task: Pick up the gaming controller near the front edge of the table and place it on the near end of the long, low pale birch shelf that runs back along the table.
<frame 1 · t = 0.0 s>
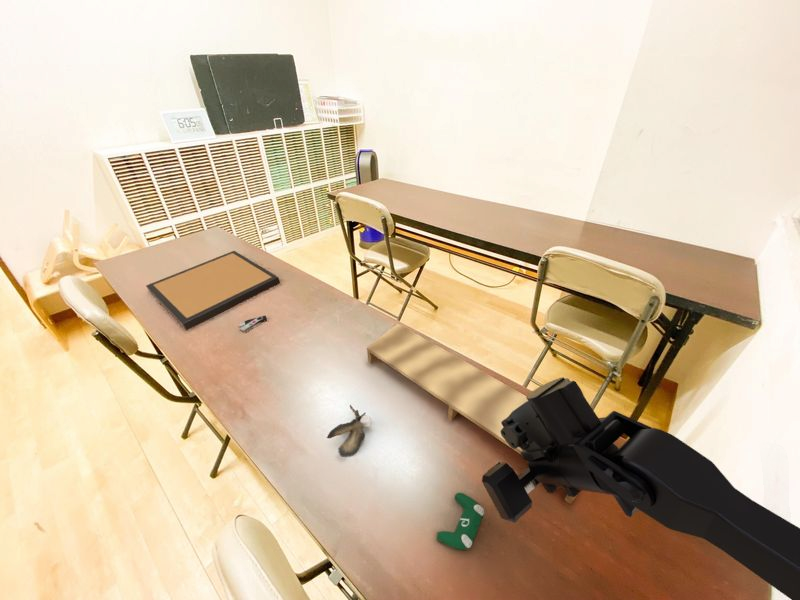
hand: (509, 460, 54), 14 cm above the table, tool tilted 35°, fingers open, 9 cm apart
cork board: (215, 287, 126), on the table
shelf: (464, 401, 81), on the table
usb flash drive: (253, 325, 107), on the table
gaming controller: (460, 525, 60), on the table
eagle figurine: (352, 437, 74), on the table
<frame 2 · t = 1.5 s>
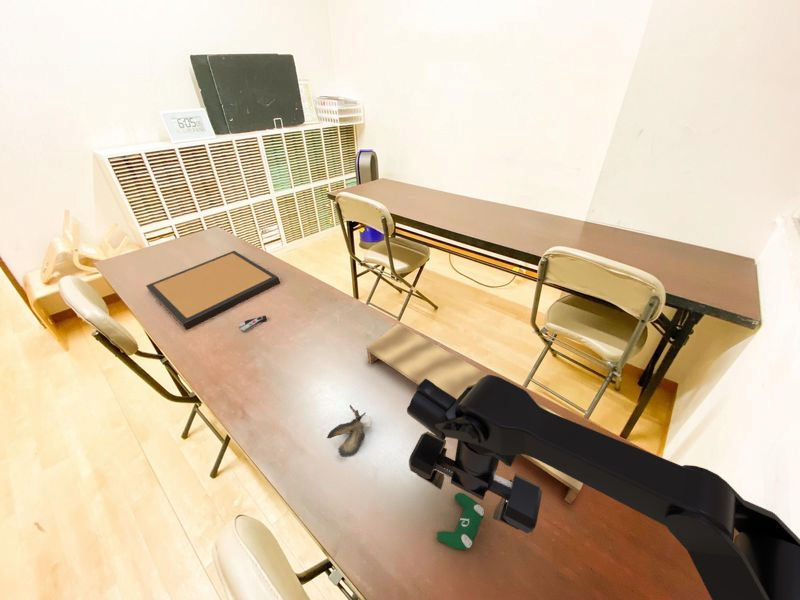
hand: (466, 500, 53), 11 cm above the table, tool pointing down, fingers open, 9 cm apart
nothing on the table moved.
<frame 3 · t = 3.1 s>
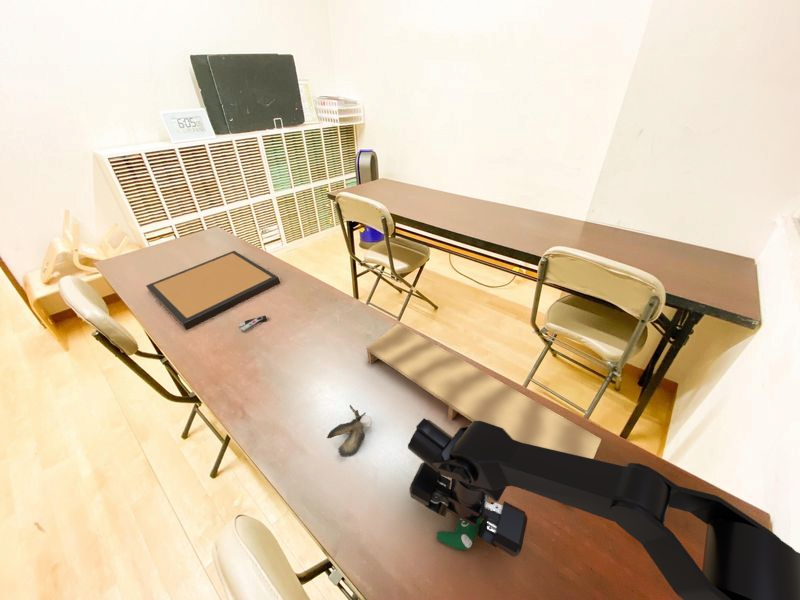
hand: (461, 523, 59), 1 cm above the table, tool pointing down, fingers closed on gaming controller, 6 cm apart
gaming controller: (460, 525, 60), on the table, touching gripper
everything else where it was.
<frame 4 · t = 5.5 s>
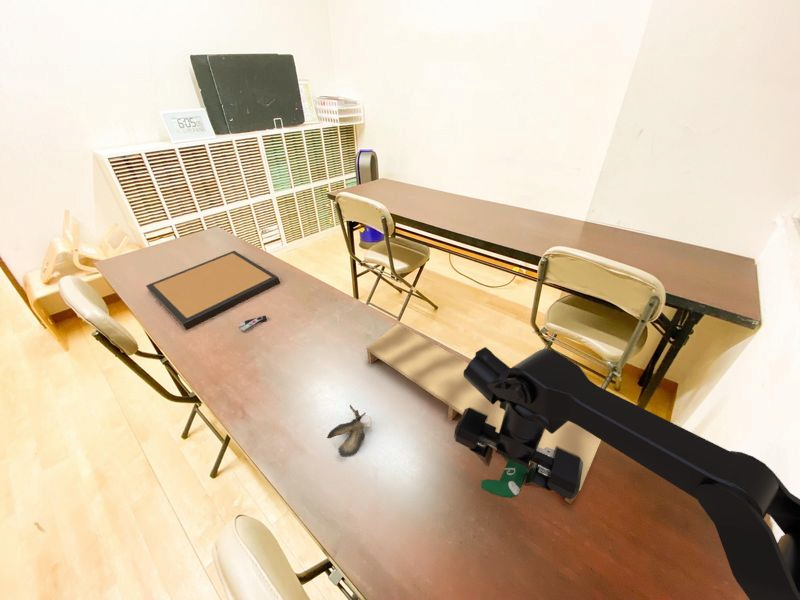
hand: (506, 473, 56), 11 cm above the table, tool pointing down, fingers closed on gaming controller, 6 cm apart
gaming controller: (504, 476, 57), point 10 cm above the table, touching gripper
everything else where it was.
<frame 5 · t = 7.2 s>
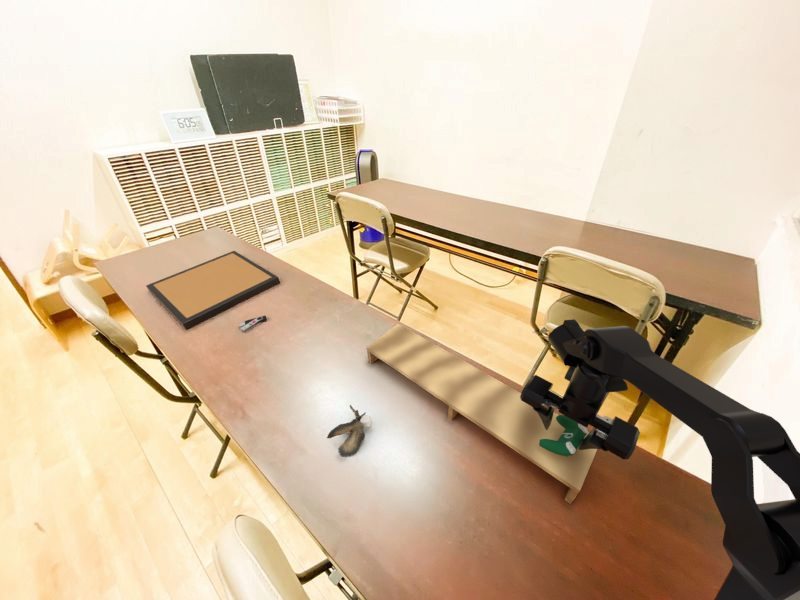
hand: (563, 437, 64), 8 cm above the table, tool pointing down, fingers closed on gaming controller, 6 cm apart
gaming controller: (561, 440, 64), point 7 cm above the table, touching gripper
everything else where it was.
when the fingers open (7 cm above the table, at t = 8.1 s): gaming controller stays where it is, resting on shelf.
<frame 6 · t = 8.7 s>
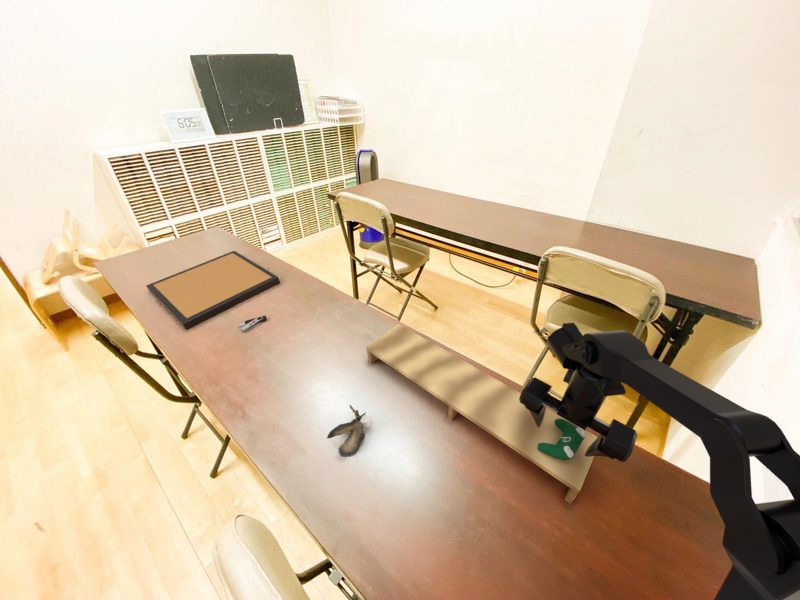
hand: (561, 439, 64), 8 cm above the table, tool pointing down, fingers open, 9 cm apart
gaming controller: (559, 444, 65), point 6 cm above the table, touching shelf
everything else where it was.
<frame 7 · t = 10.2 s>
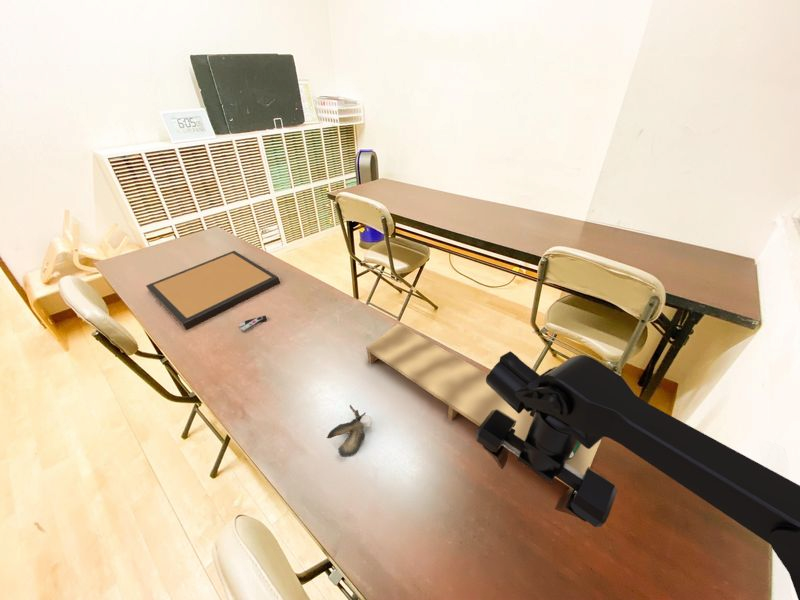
hand: (528, 485, 52), 13 cm above the table, tool pointing down, fingers open, 9 cm apart
nothing on the table moved.
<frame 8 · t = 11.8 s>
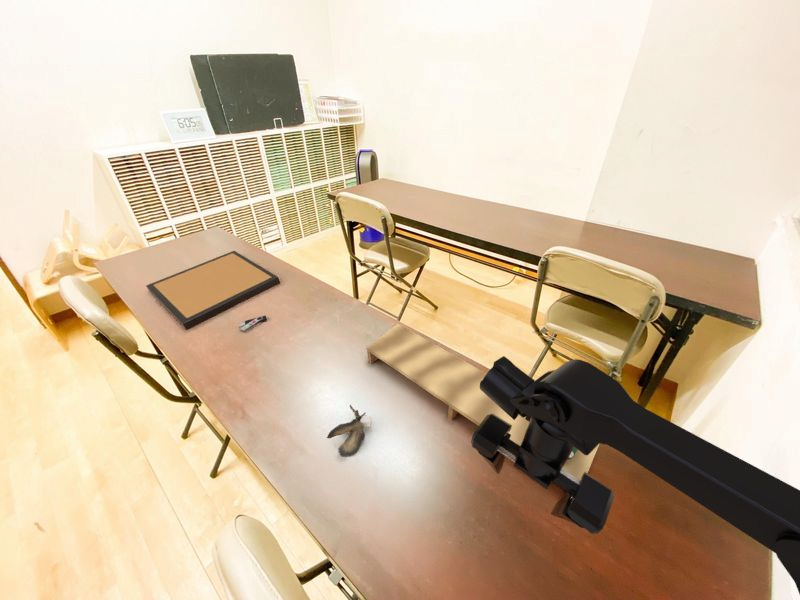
hand: (524, 490, 52), 13 cm above the table, tool pointing down, fingers open, 9 cm apart
nothing on the table moved.
at the end: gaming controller inside the target area on the shelf (0.1 cm from its centre), point 5.8 cm above the shelf's base; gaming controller tilted 0°; the gripper is holding nothing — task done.
